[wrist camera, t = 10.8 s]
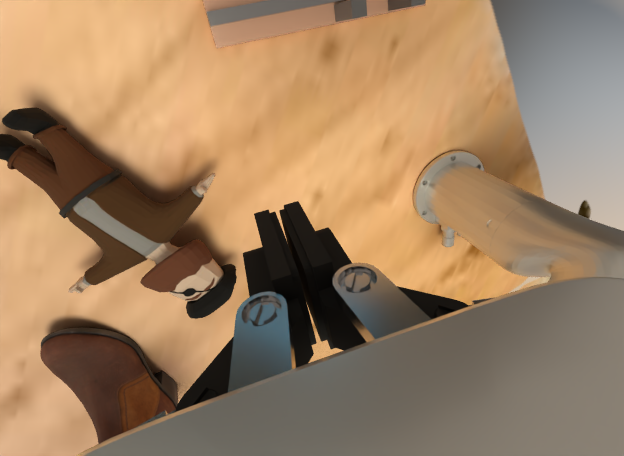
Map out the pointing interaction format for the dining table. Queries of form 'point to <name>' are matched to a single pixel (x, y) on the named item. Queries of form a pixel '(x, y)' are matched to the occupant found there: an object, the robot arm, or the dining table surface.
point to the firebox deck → (288, 16)
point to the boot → (108, 378)
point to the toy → (119, 215)
